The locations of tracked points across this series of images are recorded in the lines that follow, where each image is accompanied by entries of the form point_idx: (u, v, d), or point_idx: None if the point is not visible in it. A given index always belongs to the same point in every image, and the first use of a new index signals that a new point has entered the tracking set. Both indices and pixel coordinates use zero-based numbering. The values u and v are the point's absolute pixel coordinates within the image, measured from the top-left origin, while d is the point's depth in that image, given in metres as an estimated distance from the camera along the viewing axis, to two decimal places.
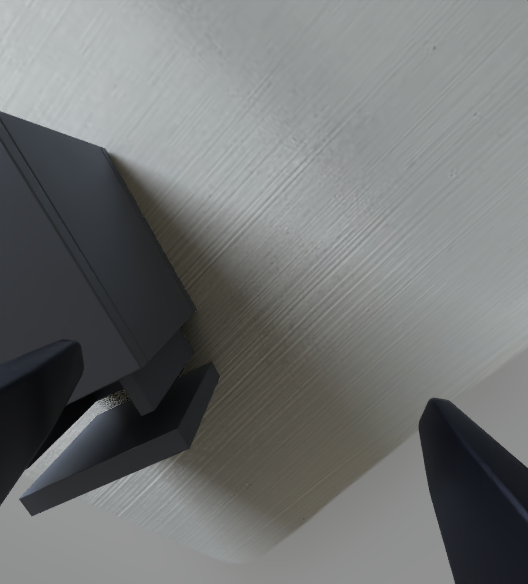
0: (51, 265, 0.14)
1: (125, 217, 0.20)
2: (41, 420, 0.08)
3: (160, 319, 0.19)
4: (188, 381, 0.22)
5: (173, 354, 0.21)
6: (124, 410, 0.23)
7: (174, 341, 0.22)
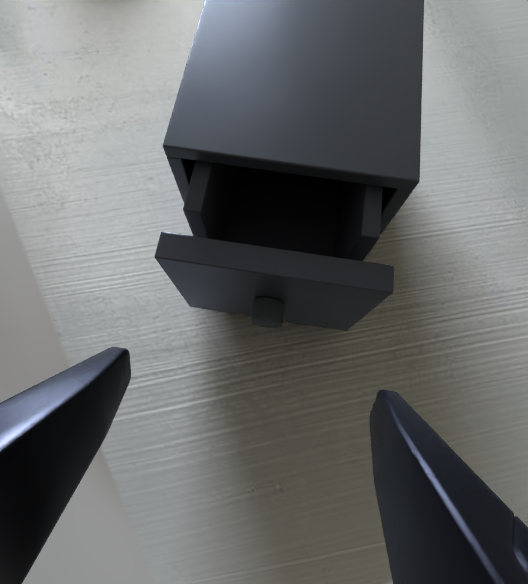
0: (400, 76, 0.16)
1: None
2: (96, 429, 0.08)
3: None
4: None
5: None
6: None
7: None
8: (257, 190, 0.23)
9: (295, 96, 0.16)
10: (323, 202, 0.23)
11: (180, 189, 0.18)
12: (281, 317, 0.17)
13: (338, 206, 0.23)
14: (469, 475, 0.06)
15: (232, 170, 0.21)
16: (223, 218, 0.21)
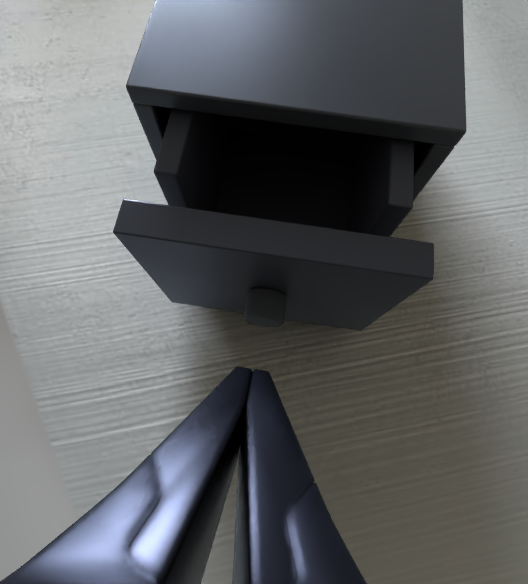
0: (434, 3, 0.13)
1: None
2: (236, 452, 0.08)
3: None
4: None
5: None
6: None
7: None
8: (253, 164, 0.19)
9: (300, 26, 0.12)
10: (331, 178, 0.19)
11: (155, 153, 0.14)
12: (282, 313, 0.13)
13: (349, 183, 0.19)
14: (290, 445, 0.06)
15: (222, 137, 0.18)
16: (211, 195, 0.17)
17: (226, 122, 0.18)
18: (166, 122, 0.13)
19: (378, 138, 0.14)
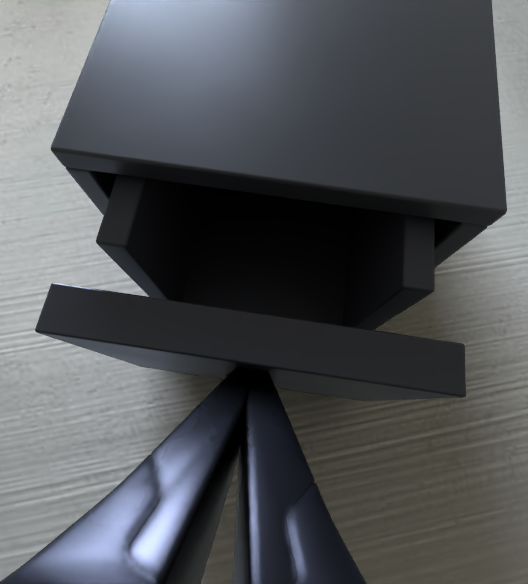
0: (458, 34, 0.10)
1: None
2: (236, 452, 0.08)
3: None
4: None
5: None
6: None
7: None
8: (237, 201, 0.17)
9: (285, 65, 0.09)
10: (328, 218, 0.16)
11: None
12: None
13: (349, 223, 0.16)
14: (290, 445, 0.06)
15: None
16: (186, 242, 0.14)
17: None
18: None
19: None
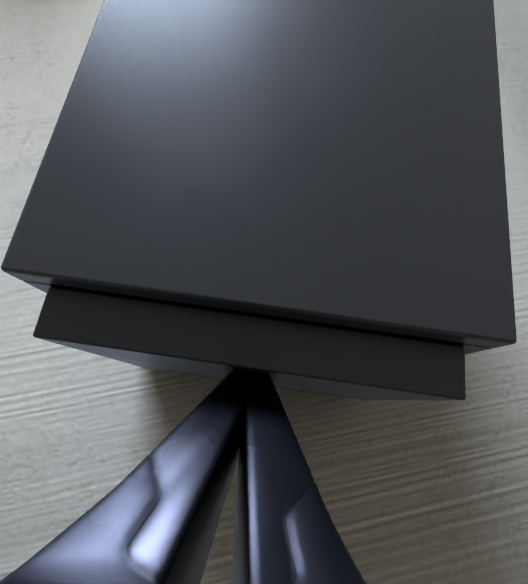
0: (461, 118, 0.09)
1: None
2: (236, 452, 0.08)
3: None
4: None
5: None
6: None
7: None
8: None
9: (267, 160, 0.08)
10: None
11: None
12: None
13: None
14: (290, 445, 0.06)
15: None
16: None
17: None
18: None
19: None
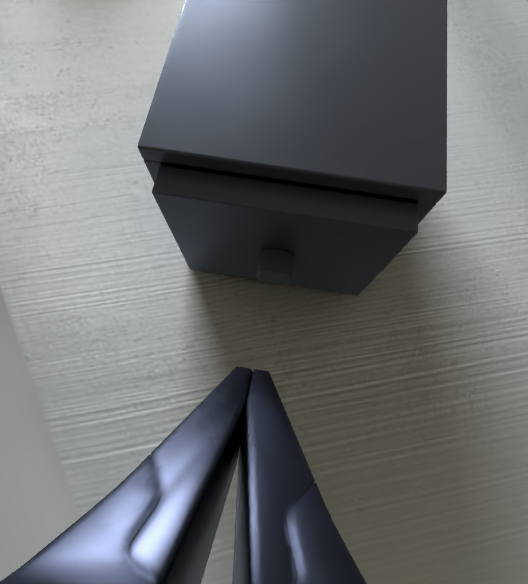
0: (421, 67, 0.14)
1: None
2: (236, 453, 0.08)
3: None
4: None
5: None
6: None
7: None
8: None
9: (297, 89, 0.13)
10: None
11: None
12: (290, 271, 0.16)
13: None
14: (290, 445, 0.06)
15: None
16: (226, 173, 0.19)
17: None
18: None
19: None
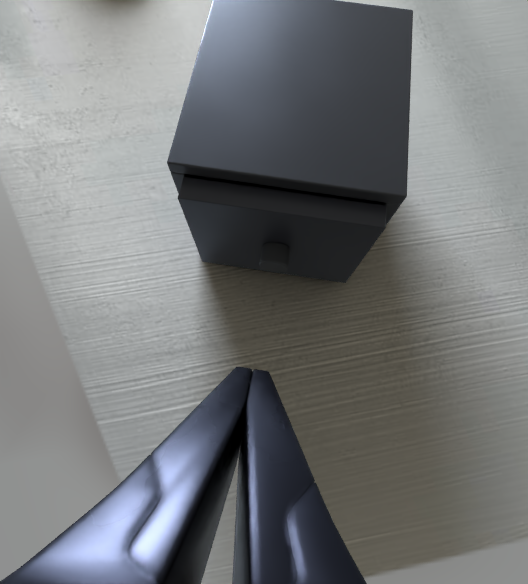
0: (389, 97, 0.17)
1: None
2: (237, 452, 0.08)
3: None
4: None
5: None
6: None
7: None
8: None
9: (291, 115, 0.17)
10: None
11: None
12: (287, 260, 0.19)
13: None
14: (290, 445, 0.06)
15: None
16: None
17: None
18: None
19: None
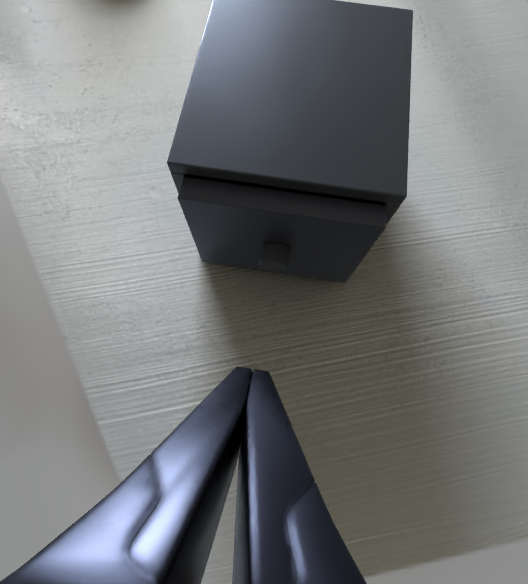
0: (389, 97, 0.17)
1: None
2: (237, 452, 0.08)
3: None
4: None
5: None
6: None
7: None
8: None
9: (291, 115, 0.17)
10: None
11: None
12: (287, 260, 0.19)
13: None
14: (290, 445, 0.06)
15: None
16: None
17: None
18: None
19: None
